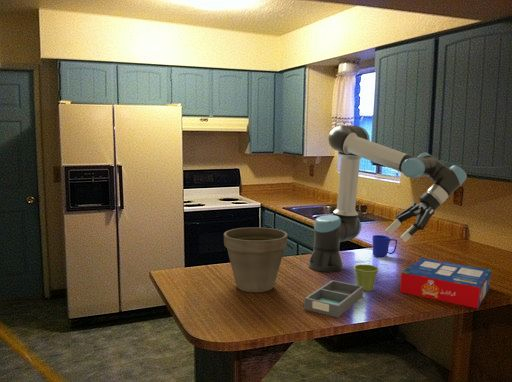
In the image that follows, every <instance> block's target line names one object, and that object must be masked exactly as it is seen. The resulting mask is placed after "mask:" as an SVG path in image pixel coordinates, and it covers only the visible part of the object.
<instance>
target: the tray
mask: <svg viewBox="0 0 512 382" xmlns="http://www.w3.org/2000/svg"><path fill="white" fill-rule="evenodd" d="M363 297H364V290H363V286H358V285H357V284H352V283H348V282H343V281H338V280H331V281H329V282H327V283H326V284H324V285H322V286H321V287H319V288H317V290H314V292H311V293H310V294H308V295H307V296H305V297H304V301H303V302H304V303H303V304H304V305H303V306H304V307H303V309H304V310H306V311H310V312H314V313H319V314H323V315H327V316H331V317H335V318H339V317H341V316H342V315H343V314H344V313H345V312H346V311H348V310H349V309H350V308H351V307H352V306H353V305H355V304H356V303H357V302H359V300H361V299H362V298H363Z"/></svg>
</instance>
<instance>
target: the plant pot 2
mask: <svg viewBox="0 0 512 382" xmlns="http://www.w3.org/2000/svg"><path fill="white" fill-rule="evenodd" d="M353 268H354V270H355V276H356V285H358V286H363V291H366V292H372V291H373V290H374V287H375V281H376V277H377V274H378V271H379V269H380V268H379V267H377V266H374V265H371V264H356V265H354V267H353Z"/></svg>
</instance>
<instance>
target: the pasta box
mask: <svg viewBox="0 0 512 382" xmlns="http://www.w3.org/2000/svg"><path fill="white" fill-rule="evenodd" d="M491 277H492V269H490V268H484V267H479V266H471V265H466V264H462V263H461V264H459V263H454V262H450V261H448V262H447V261H442V260H436V259H431V258H425V257H420V258H419V259H417V260H416V261H415V262H414V263H412V264H410V265H409V266H408V267H407V268H405V269H404V270H403V271H401V274H400V288H399V290H400V293H403V294H407V295H408V294H409V295H414V296H418V297H422V298H427V299H432V300H437V301H440V300H441V301H440V302H445V301H447V302H446V303H449V304H456V305H458V306H459V305H460V306H465V307H469V308H474V309H479V308H480V306H481V304H482V303H483V300H484V299H485V297H486V295H487V293H488V292H489V291H490V289H491Z"/></svg>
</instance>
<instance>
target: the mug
mask: <svg viewBox="0 0 512 382" xmlns="http://www.w3.org/2000/svg"><path fill="white" fill-rule="evenodd" d="M391 241H392V242H393V241H394V242H395V244H394V245H395V246H394V249H393V250H392V252H391V251H390V252H389V245H390V243H391ZM397 246H398V240H397V239H396V238H390V237H389V236H387V235H383V234H375V235H372V255H373V256H374V257H376V258H386V257H387V256H388V255H393V254H395V252H396V250H397Z"/></svg>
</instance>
